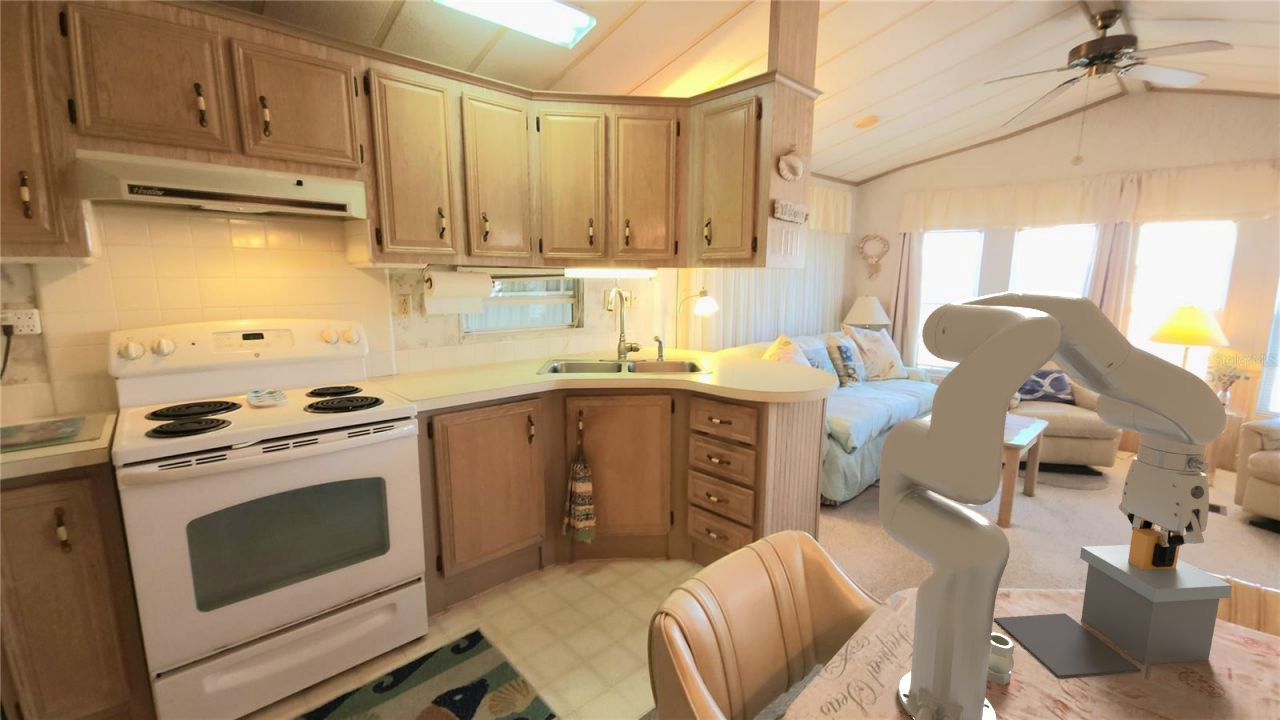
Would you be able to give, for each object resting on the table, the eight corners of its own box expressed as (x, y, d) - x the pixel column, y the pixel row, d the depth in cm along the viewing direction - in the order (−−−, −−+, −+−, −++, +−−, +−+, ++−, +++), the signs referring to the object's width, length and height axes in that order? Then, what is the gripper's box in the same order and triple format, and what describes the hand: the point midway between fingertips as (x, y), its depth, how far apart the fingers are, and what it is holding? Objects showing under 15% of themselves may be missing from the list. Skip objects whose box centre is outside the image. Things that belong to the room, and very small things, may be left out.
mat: (1058, 677, 83) (1058, 675, 83) (993, 619, 97) (994, 618, 97) (1140, 671, 84) (1140, 669, 84) (1064, 615, 98) (1065, 613, 97)
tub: (1143, 664, 85) (1154, 595, 83) (1081, 619, 96) (1089, 557, 94) (1208, 659, 86) (1220, 591, 84) (1138, 615, 97) (1148, 553, 95)
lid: (1153, 602, 82) (1161, 554, 81) (1079, 558, 95) (1085, 516, 94) (1229, 597, 83) (1238, 550, 82) (1146, 554, 96) (1152, 513, 95)
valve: (1025, 687, 81) (981, 635, 93) (1030, 650, 80) (984, 601, 92) (981, 686, 82) (943, 634, 93) (985, 648, 81) (945, 600, 92)
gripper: (1249, 475, 78) (1228, 587, 81) (1140, 441, 94) (1126, 536, 97) (1203, 477, 77) (1183, 590, 80) (1101, 443, 93) (1088, 538, 96)
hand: (1152, 560), depth 89 cm, fingers closed on lid, 2 cm apart
